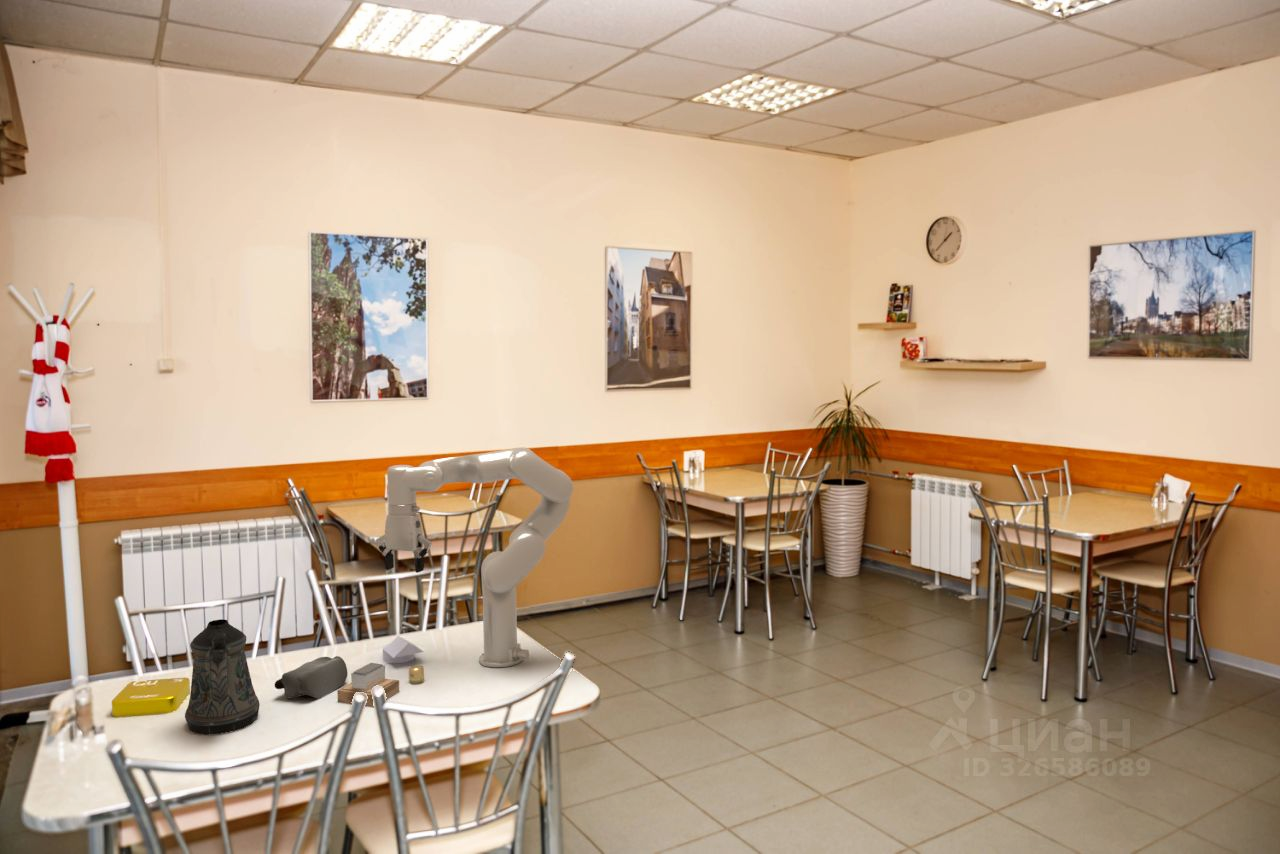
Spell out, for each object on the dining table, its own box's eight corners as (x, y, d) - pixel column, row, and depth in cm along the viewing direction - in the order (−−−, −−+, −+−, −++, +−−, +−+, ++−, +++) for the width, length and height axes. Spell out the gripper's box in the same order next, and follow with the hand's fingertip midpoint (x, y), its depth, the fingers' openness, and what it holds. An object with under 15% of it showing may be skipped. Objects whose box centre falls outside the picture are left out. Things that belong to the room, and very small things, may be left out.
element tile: (109, 719, 228) (108, 700, 228) (131, 696, 243) (130, 679, 242) (175, 714, 231) (174, 695, 231) (192, 692, 246) (191, 674, 245)
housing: (366, 690, 235) (365, 674, 235) (351, 688, 237) (351, 672, 237) (385, 680, 243) (384, 663, 242) (371, 678, 244) (370, 662, 244)
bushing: (427, 680, 252) (426, 665, 251) (419, 685, 248) (418, 670, 248) (414, 678, 253) (413, 664, 253) (406, 683, 249) (405, 669, 249)
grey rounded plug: (320, 676, 256) (319, 648, 255) (354, 680, 252) (353, 653, 251) (273, 700, 239) (271, 670, 238) (308, 705, 235) (306, 675, 234)
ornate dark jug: (239, 703, 237) (234, 607, 235) (279, 722, 224) (274, 621, 222) (173, 723, 224) (167, 623, 222) (211, 745, 212) (206, 638, 210)
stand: (399, 691, 244) (398, 679, 243) (374, 706, 233) (373, 694, 233) (363, 686, 247) (363, 674, 247) (337, 701, 237) (337, 689, 237)
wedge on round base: (424, 663, 266) (408, 650, 276) (423, 640, 265) (407, 628, 276) (393, 669, 260) (378, 656, 271) (393, 646, 260) (377, 634, 271)
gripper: (436, 508, 257) (438, 569, 259) (383, 505, 263) (385, 565, 265) (422, 513, 250) (424, 575, 252) (367, 510, 256) (370, 571, 257)
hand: (404, 570), depth 258 cm, fingers open, 9 cm apart
